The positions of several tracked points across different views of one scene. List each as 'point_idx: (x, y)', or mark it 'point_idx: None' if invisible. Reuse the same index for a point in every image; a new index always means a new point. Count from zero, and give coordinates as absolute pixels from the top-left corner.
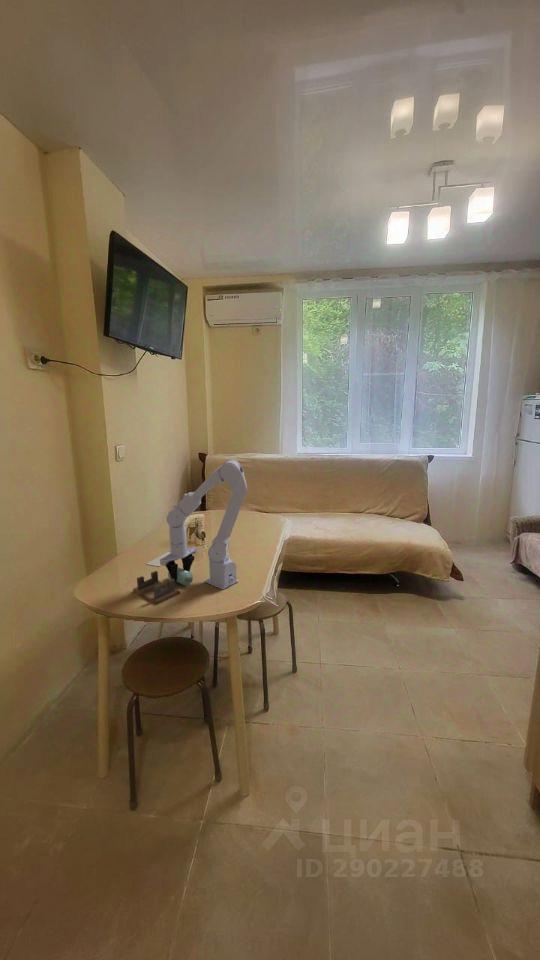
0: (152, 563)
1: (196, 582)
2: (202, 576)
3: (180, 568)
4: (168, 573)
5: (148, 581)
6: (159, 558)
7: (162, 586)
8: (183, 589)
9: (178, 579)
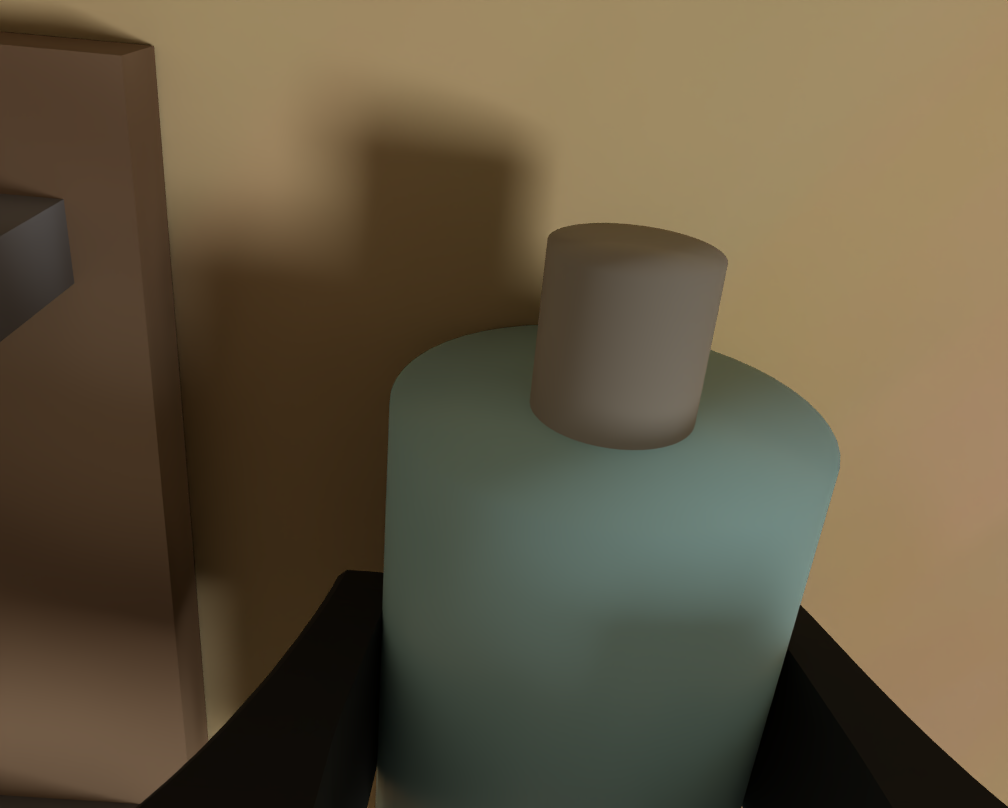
0: None
1: None
2: (1005, 736)
3: (672, 789)
4: (390, 440)
5: None
6: None
7: (34, 554)
8: None
9: (376, 796)
